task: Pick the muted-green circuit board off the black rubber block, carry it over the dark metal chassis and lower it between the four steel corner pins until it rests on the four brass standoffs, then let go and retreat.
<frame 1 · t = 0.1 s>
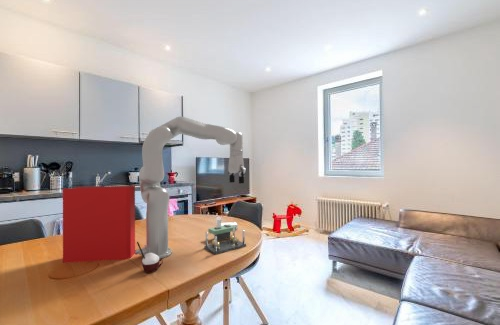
hand: (236, 182, 135), 31 cm above the table, fingers open, 9 cm apart
cocoa: (150, 271, 91), on the table
bracket: (226, 229, 150), on the table
chassis: (225, 247, 117), on the table
book: (101, 257, 105), on the table
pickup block: (222, 238, 131), on the table
board: (222, 231, 131), point 4 cm above the table, touching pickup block
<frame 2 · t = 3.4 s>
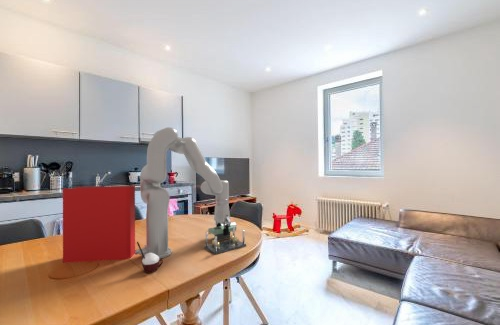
hand: (222, 233, 131), 3 cm above the table, fingers closed on board, 7 cm apart
board: (222, 231, 131), point 4 cm above the table, touching gripper, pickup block
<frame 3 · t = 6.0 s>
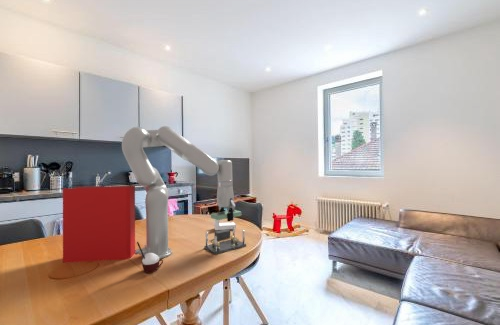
hand: (226, 219, 117), 14 cm above the table, fingers closed on board, 7 cm apart
board: (226, 216, 117), point 15 cm above the table, touching gripper
when the fingers open (3 cm above the table, at t = 8.6 s): board stays where it is, resting on chassis.
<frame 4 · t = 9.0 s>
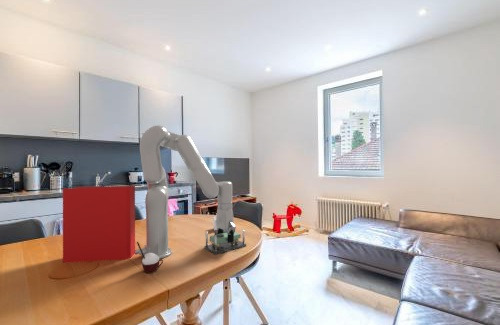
hand: (225, 239, 117), 4 cm above the table, fingers open, 9 cm apart
board: (225, 239, 117), point 4 cm above the table, touching chassis
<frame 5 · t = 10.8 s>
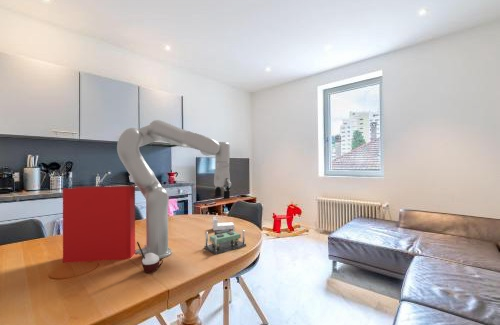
hand: (222, 197, 123), 24 cm above the table, fingers open, 9 cm apart
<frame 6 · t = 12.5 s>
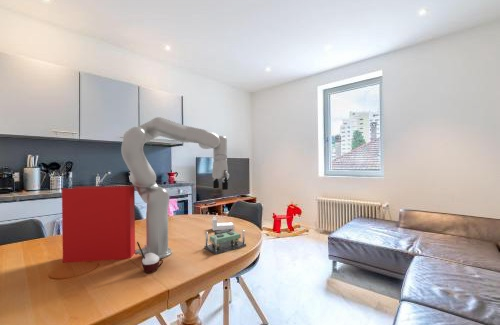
hand: (220, 188, 129), 28 cm above the table, fingers open, 9 cm apart
book: (101, 257, 105), on the table, touching arm
at the end: board 0.0 cm off-centre on the chassis, point 4.0 cm above the chassis's base; board tilted 0°; the gripper is holding nothing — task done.
